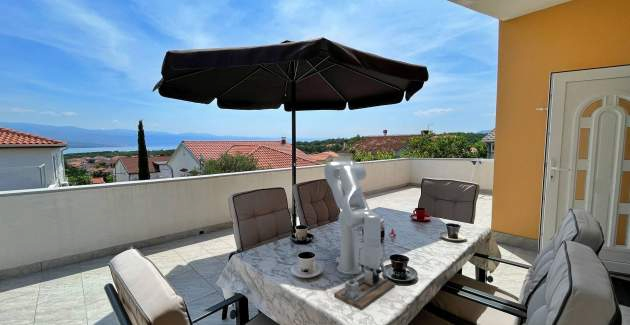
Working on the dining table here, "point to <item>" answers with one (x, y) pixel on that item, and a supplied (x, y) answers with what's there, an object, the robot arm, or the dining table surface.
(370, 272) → the grey sliding block
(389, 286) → the bolt plate
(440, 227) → the dining table surface
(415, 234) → the dining table surface
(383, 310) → the dining table surface
